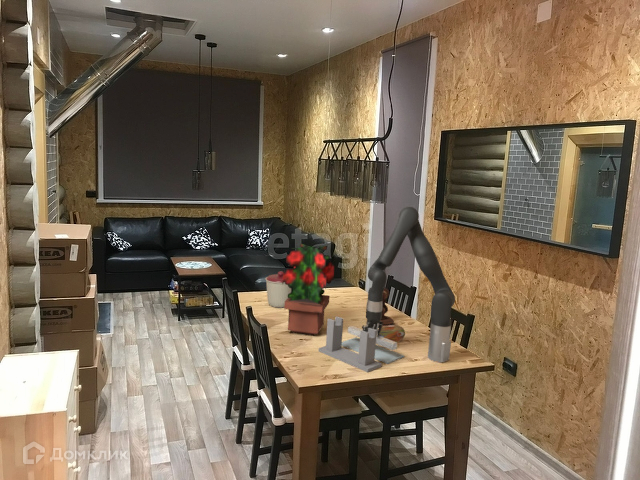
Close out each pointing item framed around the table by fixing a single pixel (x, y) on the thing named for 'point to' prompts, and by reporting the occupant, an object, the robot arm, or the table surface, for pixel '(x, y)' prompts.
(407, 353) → the table surface
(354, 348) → the mat
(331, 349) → the rack
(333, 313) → the table surface
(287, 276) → the potted plant
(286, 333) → the table surface
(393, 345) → the steel bar
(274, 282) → the canister
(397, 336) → the tin
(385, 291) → the brown statuette
